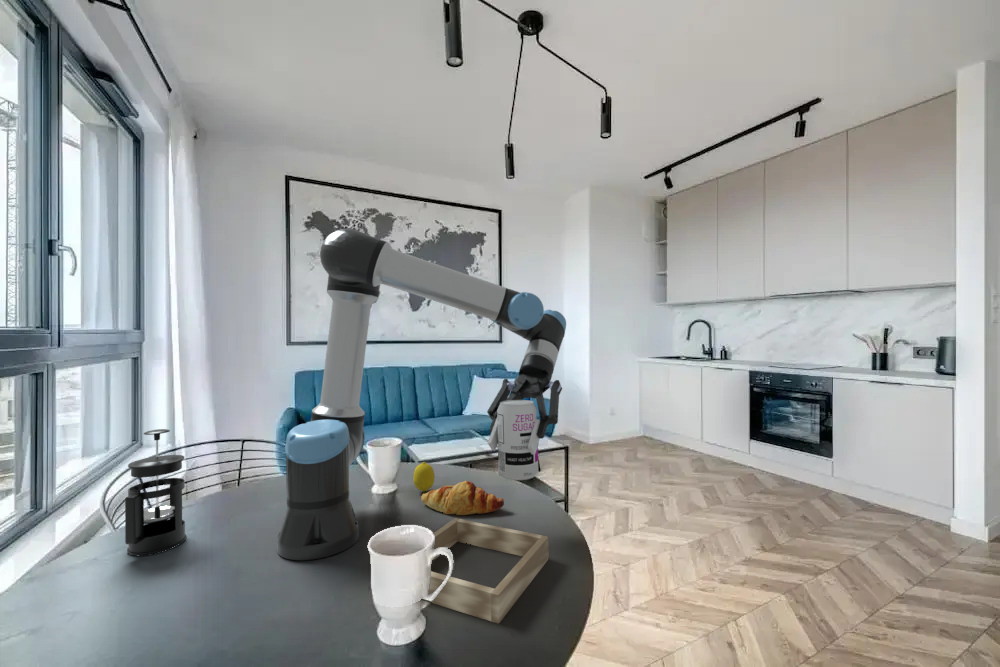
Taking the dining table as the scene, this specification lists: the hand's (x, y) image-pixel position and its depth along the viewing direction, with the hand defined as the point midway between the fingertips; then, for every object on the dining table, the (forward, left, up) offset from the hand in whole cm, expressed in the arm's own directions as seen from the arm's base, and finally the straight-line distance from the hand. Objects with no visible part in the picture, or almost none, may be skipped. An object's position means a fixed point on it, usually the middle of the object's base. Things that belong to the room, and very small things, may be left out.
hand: (510, 448), depth 87 cm
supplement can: (0, +3, -6) cm, 7 cm away
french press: (-64, -32, -18) cm, 74 cm away
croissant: (-18, +10, -19) cm, 28 cm away
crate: (-1, -14, -18) cm, 23 cm away
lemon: (-33, +15, -18) cm, 40 cm away
